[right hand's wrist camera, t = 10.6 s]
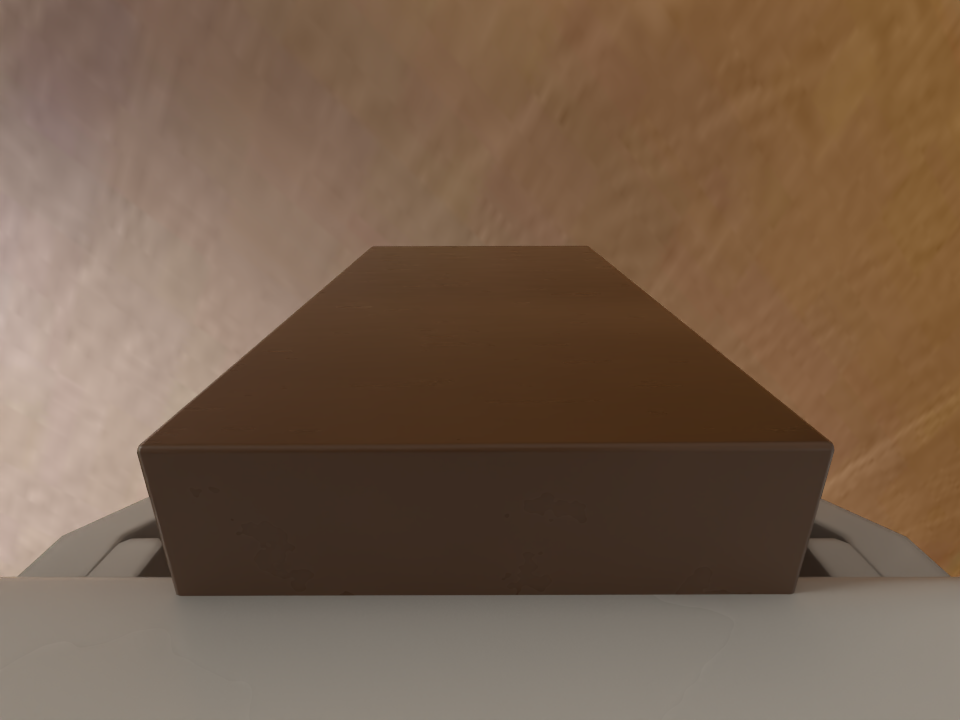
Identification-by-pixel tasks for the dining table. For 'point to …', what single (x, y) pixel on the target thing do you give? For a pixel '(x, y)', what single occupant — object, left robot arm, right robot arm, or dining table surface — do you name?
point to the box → (484, 444)
